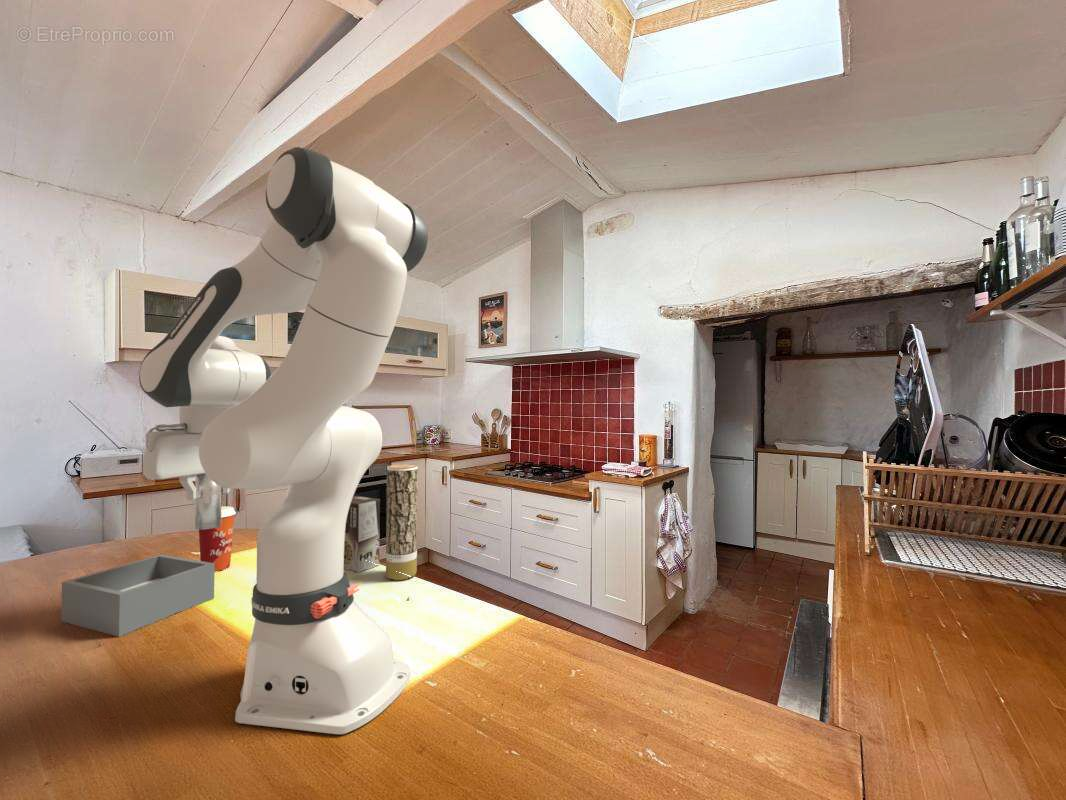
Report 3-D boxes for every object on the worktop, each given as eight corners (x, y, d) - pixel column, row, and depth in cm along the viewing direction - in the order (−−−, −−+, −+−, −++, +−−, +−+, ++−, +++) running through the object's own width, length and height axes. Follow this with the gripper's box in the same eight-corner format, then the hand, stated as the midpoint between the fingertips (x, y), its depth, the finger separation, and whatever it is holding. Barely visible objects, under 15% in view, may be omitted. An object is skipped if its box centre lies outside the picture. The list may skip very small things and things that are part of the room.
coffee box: (380, 565, 110) (381, 498, 110) (357, 573, 105) (358, 503, 105) (356, 558, 115) (357, 494, 115) (333, 565, 109) (334, 499, 110)
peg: (226, 524, 86) (226, 461, 86) (205, 530, 82) (205, 463, 82) (211, 523, 87) (211, 460, 87) (189, 528, 83) (190, 463, 83)
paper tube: (408, 582, 99) (409, 468, 100) (379, 580, 101) (381, 467, 101) (421, 571, 106) (422, 465, 106) (395, 569, 107) (396, 464, 108)
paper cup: (220, 574, 103) (221, 513, 103) (187, 574, 103) (188, 512, 104) (242, 562, 111) (243, 505, 111) (211, 562, 111) (212, 505, 111)
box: (214, 598, 91) (214, 563, 91) (119, 636, 76) (119, 594, 76) (160, 587, 96) (160, 554, 96) (61, 621, 81) (61, 582, 81)
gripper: (159, 424, 74) (158, 509, 74) (269, 421, 93) (268, 488, 93) (133, 424, 76) (133, 507, 76) (246, 421, 95) (246, 486, 95)
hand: (208, 496), depth 84 cm, fingers closed on peg, 4 cm apart
